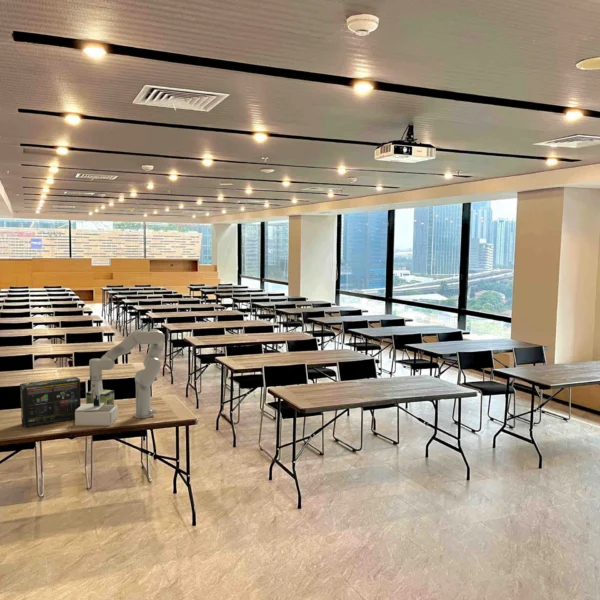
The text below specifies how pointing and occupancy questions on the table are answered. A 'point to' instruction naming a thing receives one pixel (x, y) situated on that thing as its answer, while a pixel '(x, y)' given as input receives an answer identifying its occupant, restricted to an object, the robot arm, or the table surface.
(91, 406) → the flap
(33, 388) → the router box
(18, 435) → the table surface
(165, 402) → the table surface
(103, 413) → the white open box
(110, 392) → the protein box
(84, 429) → the table surface
